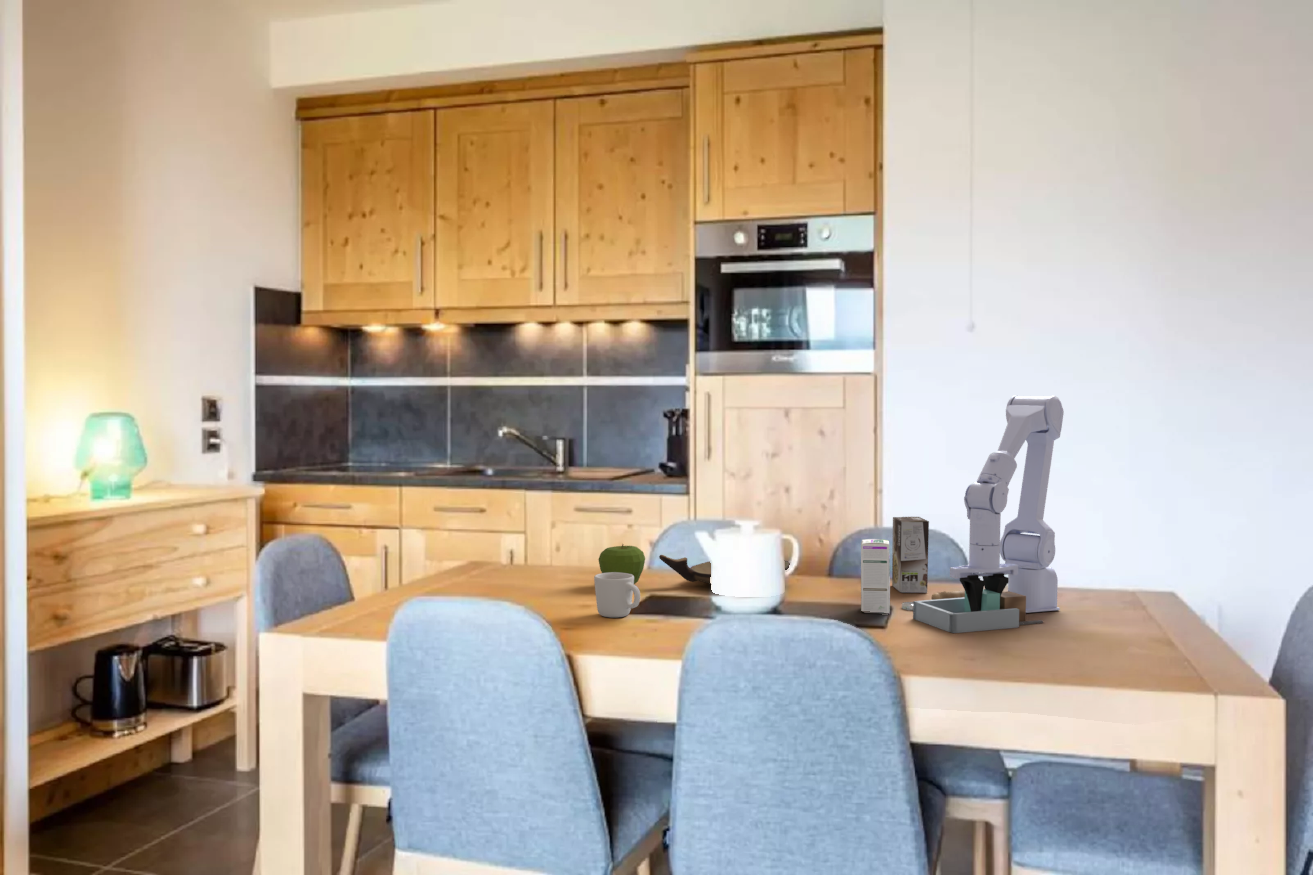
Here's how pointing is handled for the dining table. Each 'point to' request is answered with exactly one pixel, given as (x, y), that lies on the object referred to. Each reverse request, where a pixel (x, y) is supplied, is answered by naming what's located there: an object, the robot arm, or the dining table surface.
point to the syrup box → (875, 575)
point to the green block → (986, 601)
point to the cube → (1014, 603)
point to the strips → (1030, 622)
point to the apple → (622, 560)
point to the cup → (615, 594)
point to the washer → (907, 606)
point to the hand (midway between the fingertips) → (983, 612)
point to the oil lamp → (693, 569)
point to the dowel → (948, 595)
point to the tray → (962, 616)
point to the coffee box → (910, 554)
